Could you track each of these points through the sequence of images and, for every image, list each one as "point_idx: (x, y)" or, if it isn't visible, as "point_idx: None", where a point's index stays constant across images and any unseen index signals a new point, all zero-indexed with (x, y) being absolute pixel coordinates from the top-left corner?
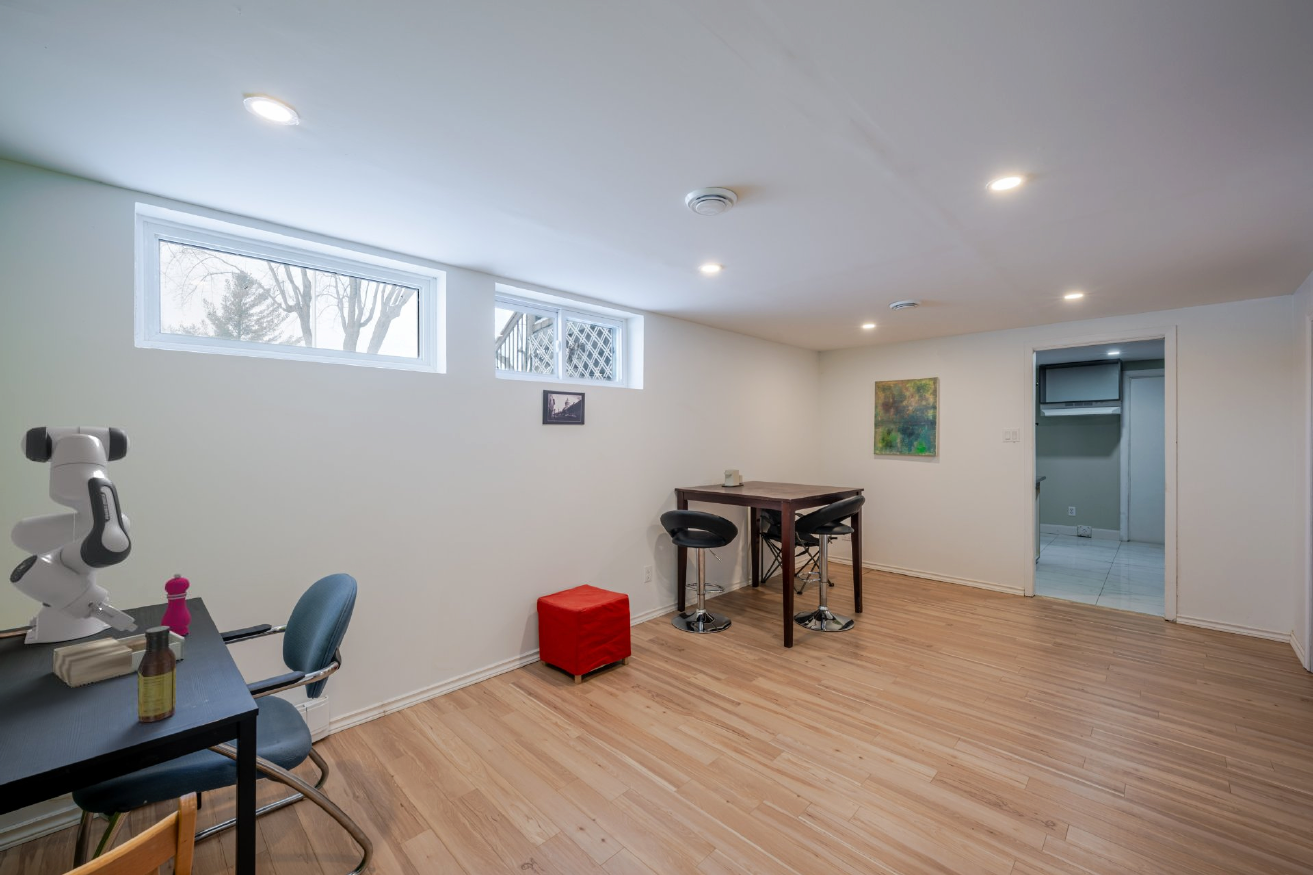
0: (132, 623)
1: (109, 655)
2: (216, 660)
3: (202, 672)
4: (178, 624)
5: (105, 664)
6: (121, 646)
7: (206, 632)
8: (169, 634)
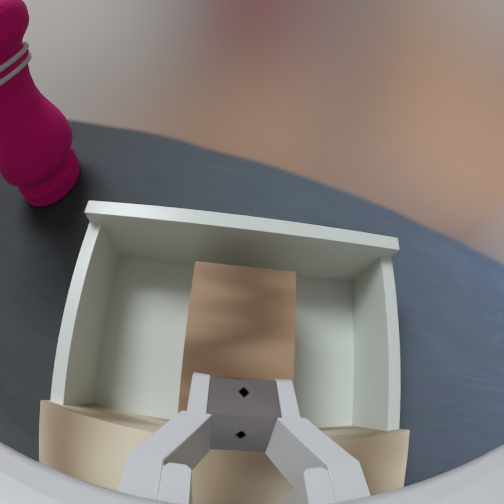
0: (303, 418)
1: None
2: (429, 238)
3: (482, 294)
4: (63, 151)
5: None
6: None
7: (115, 131)
8: (246, 233)
